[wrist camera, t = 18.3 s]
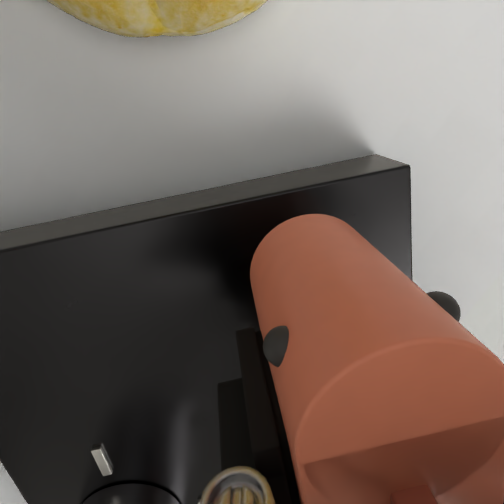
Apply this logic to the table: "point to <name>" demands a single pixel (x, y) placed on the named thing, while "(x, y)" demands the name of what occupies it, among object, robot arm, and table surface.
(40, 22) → the table surface
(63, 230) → the hot plate
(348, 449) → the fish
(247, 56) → the table surface
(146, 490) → the knob
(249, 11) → the bread roll
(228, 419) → the robot arm
